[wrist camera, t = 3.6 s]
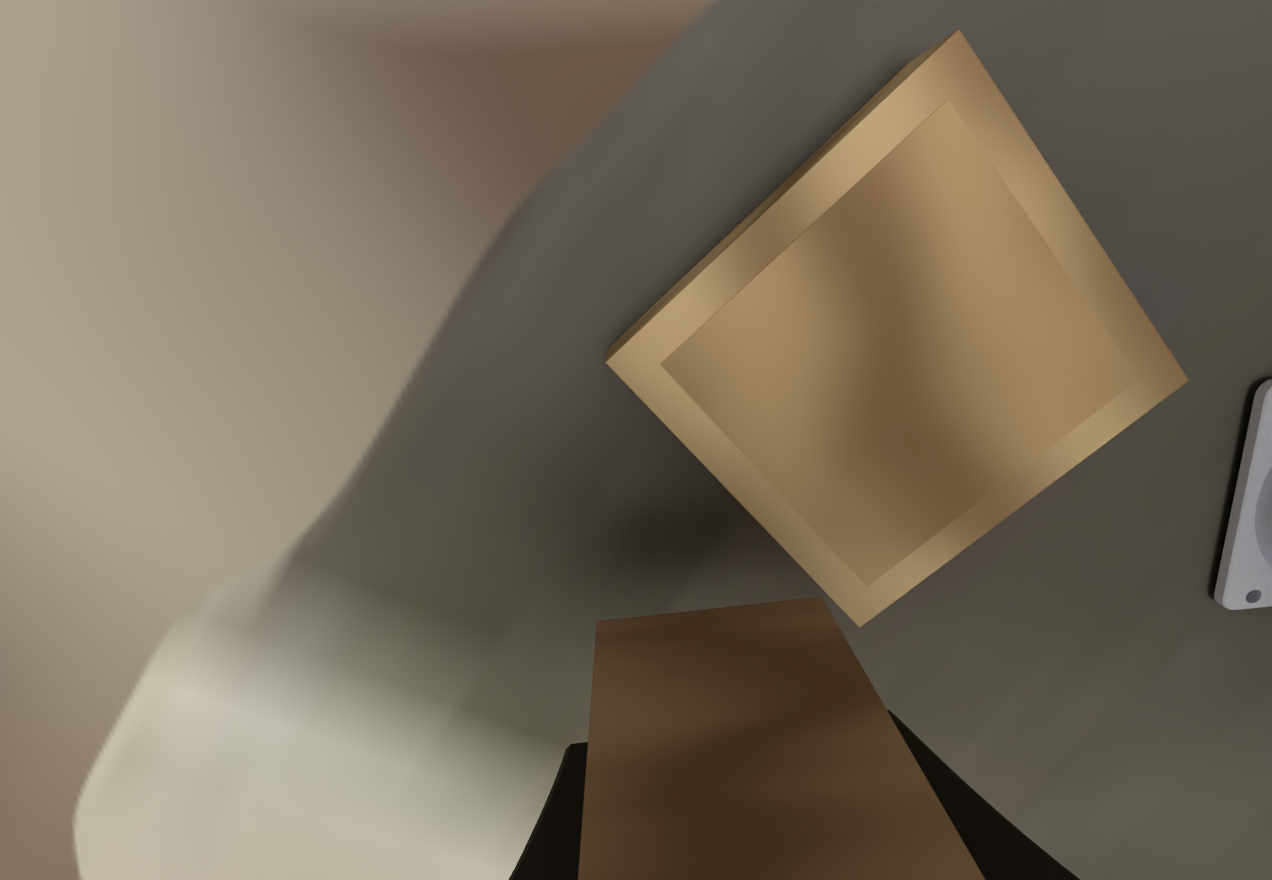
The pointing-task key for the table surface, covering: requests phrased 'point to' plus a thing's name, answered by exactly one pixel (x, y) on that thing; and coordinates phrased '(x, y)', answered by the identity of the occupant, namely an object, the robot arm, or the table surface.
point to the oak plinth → (900, 339)
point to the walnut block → (751, 756)
